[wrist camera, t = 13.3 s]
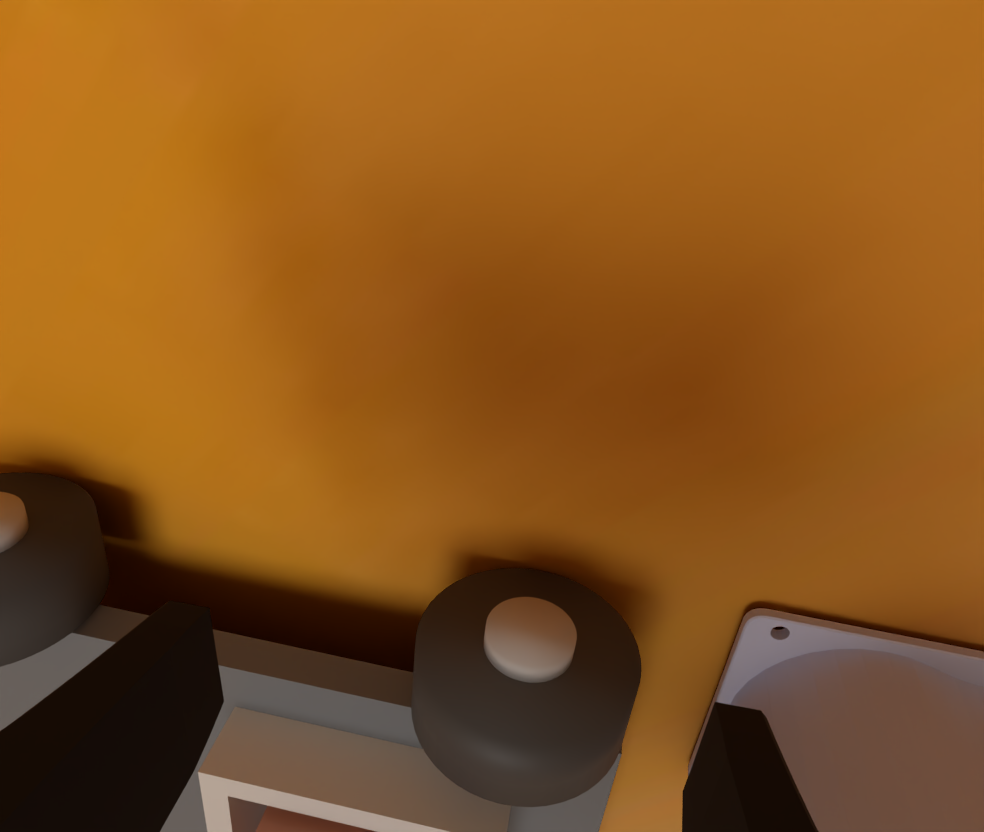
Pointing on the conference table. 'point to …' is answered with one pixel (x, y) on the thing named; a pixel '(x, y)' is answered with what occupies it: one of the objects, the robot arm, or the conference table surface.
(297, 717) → the chassis
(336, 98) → the conference table surface
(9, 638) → the loose wheel
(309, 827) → the brown capped block
